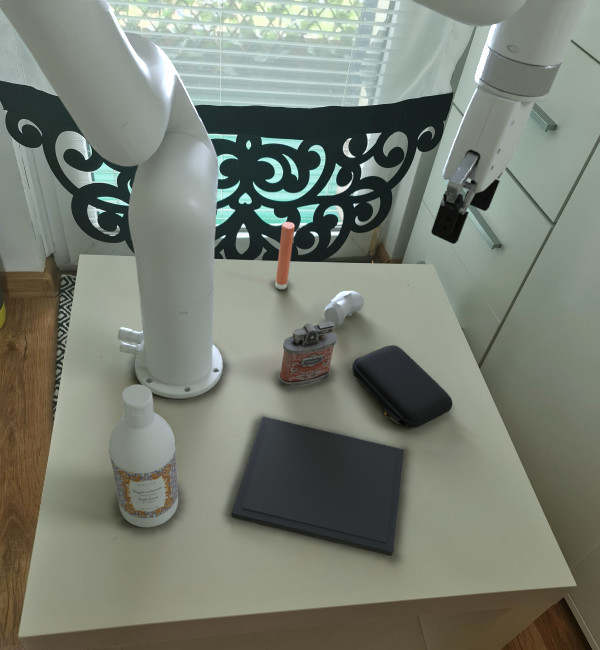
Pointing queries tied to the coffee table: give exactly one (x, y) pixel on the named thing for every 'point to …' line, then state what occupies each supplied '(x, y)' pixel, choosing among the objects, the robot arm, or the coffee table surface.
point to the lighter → (307, 355)
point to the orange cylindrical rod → (284, 254)
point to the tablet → (322, 485)
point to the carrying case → (401, 387)
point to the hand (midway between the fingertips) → (460, 221)
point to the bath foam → (143, 461)
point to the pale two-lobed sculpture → (343, 306)
